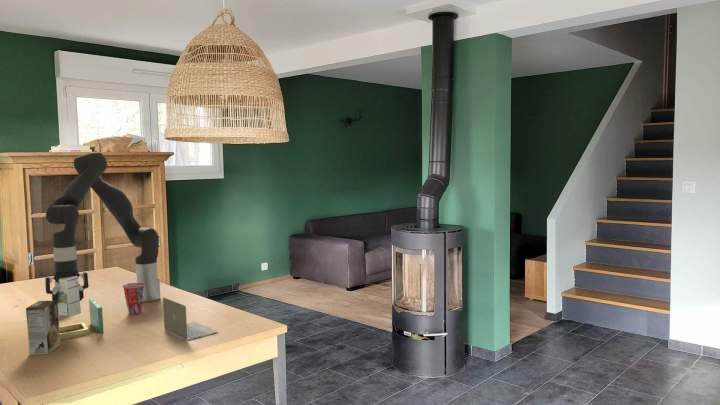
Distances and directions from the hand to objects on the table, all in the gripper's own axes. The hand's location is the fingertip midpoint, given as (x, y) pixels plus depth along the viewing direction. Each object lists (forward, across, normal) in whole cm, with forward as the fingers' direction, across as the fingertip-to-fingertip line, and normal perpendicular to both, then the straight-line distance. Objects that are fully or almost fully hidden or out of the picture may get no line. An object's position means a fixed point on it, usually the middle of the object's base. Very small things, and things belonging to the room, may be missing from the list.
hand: (68, 302), depth 203 cm
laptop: (+12, -36, +28) cm, 47 cm away
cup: (+12, -26, -13) cm, 32 cm away
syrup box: (+5, 0, 0) cm, 5 cm away
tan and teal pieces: (+12, -2, 0) cm, 12 cm away
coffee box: (+12, +10, +14) cm, 21 cm away
